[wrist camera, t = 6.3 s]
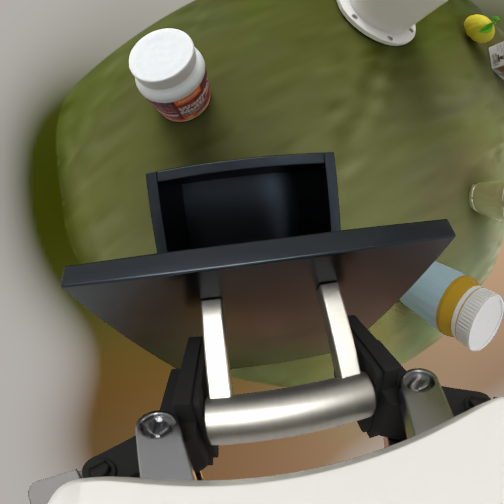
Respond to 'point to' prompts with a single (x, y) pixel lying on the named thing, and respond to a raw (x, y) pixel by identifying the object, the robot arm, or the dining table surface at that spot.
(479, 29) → the lemon
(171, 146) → the dining table surface
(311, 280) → the bin lid
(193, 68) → the pill bottle
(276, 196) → the waste bin
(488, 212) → the cup with straw
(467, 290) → the bottle
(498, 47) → the coffee box
